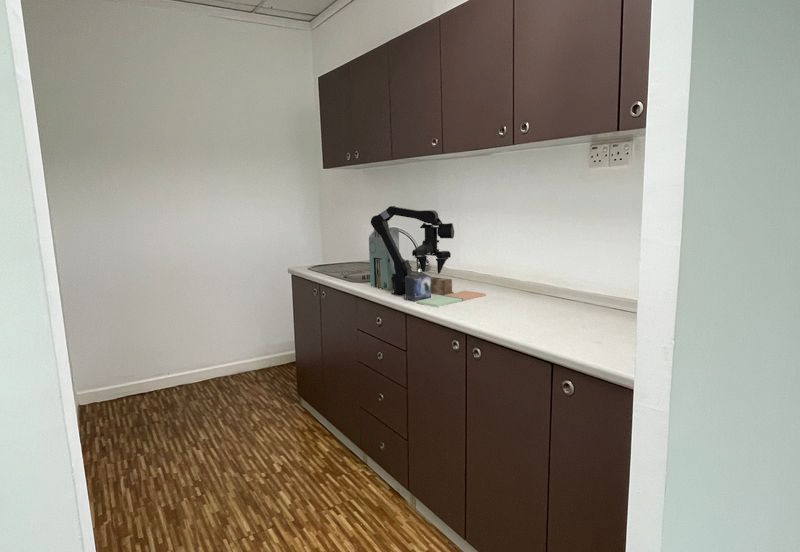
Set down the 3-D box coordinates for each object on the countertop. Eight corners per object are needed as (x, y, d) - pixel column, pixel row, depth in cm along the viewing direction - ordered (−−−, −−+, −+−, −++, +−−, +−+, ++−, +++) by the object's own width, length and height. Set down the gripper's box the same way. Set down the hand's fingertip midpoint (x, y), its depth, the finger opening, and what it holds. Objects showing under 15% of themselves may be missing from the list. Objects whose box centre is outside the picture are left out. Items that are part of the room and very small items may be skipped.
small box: (414, 302, 226) (413, 278, 224) (404, 300, 231) (403, 276, 229) (432, 298, 232) (431, 275, 231) (422, 296, 237) (421, 273, 236)
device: (370, 286, 268) (368, 228, 263) (383, 284, 272) (381, 227, 267) (387, 290, 254) (385, 229, 250) (400, 289, 258) (398, 228, 254)
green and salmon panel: (416, 303, 222) (416, 300, 222) (465, 292, 244) (465, 290, 244) (437, 307, 214) (436, 304, 214) (485, 295, 235) (485, 293, 235)
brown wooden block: (423, 292, 247) (422, 277, 246) (431, 290, 251) (431, 276, 250) (444, 295, 237) (444, 280, 236) (453, 293, 241) (453, 279, 240)
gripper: (403, 238, 236) (404, 272, 239) (435, 240, 223) (435, 276, 226) (420, 236, 244) (420, 269, 246) (451, 238, 231) (451, 273, 234)
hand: (431, 272), depth 238 cm, fingers open, 9 cm apart
